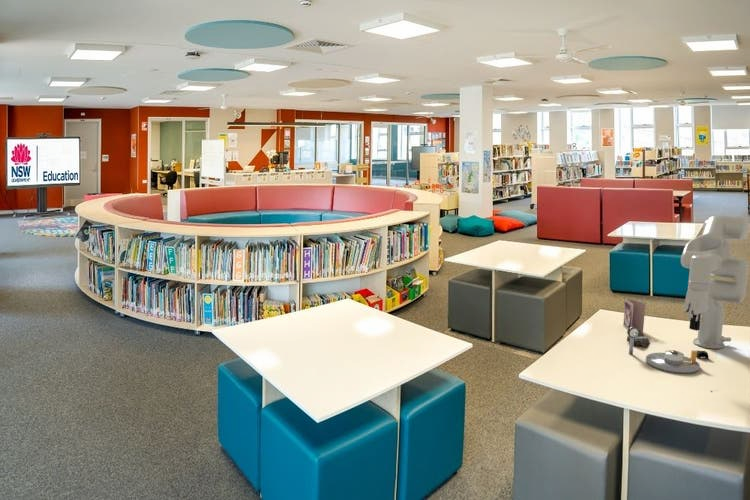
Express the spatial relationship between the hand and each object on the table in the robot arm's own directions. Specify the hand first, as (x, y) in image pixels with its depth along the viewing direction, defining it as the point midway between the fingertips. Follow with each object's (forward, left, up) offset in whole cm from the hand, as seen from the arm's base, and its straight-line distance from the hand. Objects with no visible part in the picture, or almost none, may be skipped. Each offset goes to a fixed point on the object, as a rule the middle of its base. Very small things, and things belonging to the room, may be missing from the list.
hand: (694, 329), depth 222 cm
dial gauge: (+14, -18, -19) cm, 30 cm away
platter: (+4, -5, -17) cm, 19 cm away
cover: (+5, -4, -16) cm, 17 cm away
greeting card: (-6, -55, -19) cm, 59 cm away
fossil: (+5, -31, -19) cm, 37 cm away
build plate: (-13, -12, -19) cm, 26 cm away
